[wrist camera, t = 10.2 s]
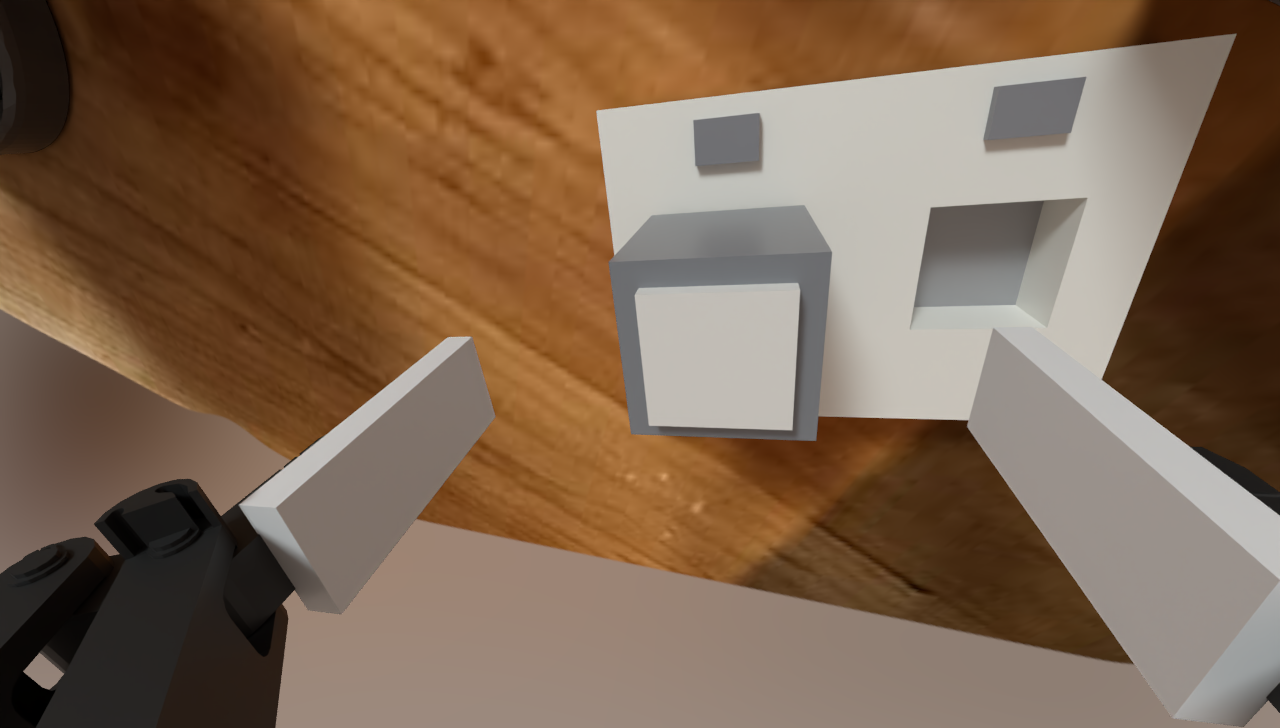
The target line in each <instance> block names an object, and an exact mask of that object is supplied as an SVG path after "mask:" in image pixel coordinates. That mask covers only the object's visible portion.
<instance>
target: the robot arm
mask: <svg viewBox="0 0 1280 728" xmlns="http://www.w3.org/2000/svg"><path fill="white" fill-rule="evenodd" d="M68 105H69V82H68V73H67V67H66V61H65V57H64V52H63V48H62V45H61V41H60V38H59V35H58V32H57V29H56V26H55V23H54V20H53V18H52V15H51V12H50V10H49V8H48V5H47V3H46V0H0V155H1V154H18V153H31V152H35V151H38V150H41V149H43V148H45V147H47V146H48V145H50V144H51V143H52V142H53V141H54V140H55V139H56V138H57V136H58V135H59V134H60V132H61V130H62V128H63V126H64V123H65V120H66V116H67V112H68ZM494 418H495V413H494V410H493V407H492V403H491V400H490V396H489V393H488V389H487V386H486V383H485V379H484V376H483V372H482V369H481V366H480V362H479V359H478V355H477V352H476V348H475V345H474V342H473V338H472V337H448V338H446V339H445V340H444V341H443V342H441V343H440V344H439V345H438V346H436V347H435V348H434V349H433V350H431V351H430V352H429V353H428V354H426V355H425V356H424V357H423V358H421V359H420V360H419V361H418V362H416V363H415V364H414V365H413V366H411V367H410V368H409V369H408V370H406V371H405V372H404V373H403V374H401V375H400V376H399V377H398V378H396V379H395V380H394V381H393V382H391V383H390V384H389V385H388V386H386V387H385V388H384V389H383V390H381V391H380V392H379V393H378V394H376V395H375V396H374V397H373V398H371V399H370V400H369V401H368V402H366V403H365V404H364V405H363V406H361V407H360V408H359V409H358V410H356V411H355V412H354V413H353V414H351V415H350V416H349V417H348V418H346V419H345V420H344V421H343V422H341V423H340V424H339V425H338V426H336V427H335V428H334V429H333V430H331V431H330V432H329V433H328V434H326V435H324V436H323V437H321V438H319V439H318V440H316V441H315V442H314V443H313V444H311V445H310V446H309V447H308V448H306V449H305V450H304V451H303V452H301V453H300V456H299V457H295V458H294V459H292V460H291V461H290V462H289V463H287V464H286V465H285V466H284V469H283V470H279V471H277V472H276V473H275V474H274V475H272V476H271V477H270V478H269V479H268V480H266V481H265V482H264V483H262V484H261V485H260V486H259V487H257V488H256V489H255V490H254V491H252V492H251V493H250V494H248V495H247V496H246V497H245V498H243V499H242V500H241V501H240V502H238V503H237V504H236V505H235V506H233V507H232V508H231V509H230V510H228V511H227V512H226V513H225V514H223V515H222V516H220V515H219V513H218V512H217V510H216V509H215V508H214V506H213V505H212V503H211V502H210V500H209V499H208V497H207V496H206V495H205V493H204V492H203V490H202V489H201V487H200V486H199V485H198V483H197V482H195V481H193V480H191V479H177V480H173V481H169V482H165V483H161V484H158V485H155V486H153V487H150V488H148V489H145V490H143V491H140V492H138V493H136V494H134V495H132V496H131V497H129V498H127V499H125V500H123V501H121V502H120V503H118V504H117V505H115V506H114V507H112V508H111V509H110V510H108V511H107V512H105V513H104V514H103V515H102V516H101V517H100V518H99V519H98V521H96V522H95V523H94V525H95V526H96V527H97V528H98V529H99V530H100V532H101V533H102V534H103V535H104V536H105V537H106V538H107V540H108V541H109V542H110V543H111V544H112V545H113V547H114V548H115V549H116V550H117V551H118V552H119V553H120V554H119V555H113V556H108V555H107V553H106V552H105V551H104V550H103V549H102V548H101V547H100V546H99V545H98V543H97V542H96V541H95V540H94V539H91V538H87V537H81V538H73V539H69V540H66V541H63V542H60V543H56V544H51V545H48V546H46V547H43V548H41V550H40V551H39V550H36V551H34V552H32V553H30V554H28V555H27V556H25V557H24V558H23V559H22V560H21V561H19V562H17V563H16V564H14V565H12V566H11V567H9V568H8V569H6V570H5V571H4V572H3V573H1V574H0V728H275V725H276V716H277V708H278V700H279V691H280V684H281V675H282V667H283V659H284V649H285V642H286V634H287V625H288V615H287V610H286V609H285V608H284V606H283V605H282V603H283V602H284V601H285V600H286V598H287V597H288V596H289V595H290V594H291V593H292V592H293V591H294V590H295V591H296V593H297V594H298V596H299V597H300V599H301V600H302V602H303V603H304V605H305V606H306V607H307V609H308V610H311V611H318V612H326V613H335V614H342V613H343V612H344V611H345V609H346V608H347V607H348V605H349V604H350V603H351V601H352V600H353V599H354V598H355V597H356V595H357V594H358V593H359V591H360V590H361V589H362V587H363V586H364V585H365V584H366V582H367V581H368V580H369V579H370V577H371V576H372V574H373V573H374V572H375V571H376V570H377V568H378V567H379V566H380V564H381V563H382V562H383V561H384V559H385V558H386V557H387V555H388V554H389V553H390V552H391V550H392V549H393V548H394V546H395V545H396V544H397V543H398V541H399V540H400V539H401V537H402V536H403V535H404V534H405V532H406V531H407V530H408V528H409V527H410V526H411V525H412V523H413V522H414V521H415V520H416V518H417V517H418V516H419V514H420V513H421V512H422V511H423V509H424V508H425V507H426V505H427V504H428V503H429V502H430V500H431V499H432V498H433V496H434V495H435V494H436V493H437V491H438V490H439V489H440V487H441V486H442V485H443V484H444V482H445V481H446V480H447V478H448V477H449V476H450V475H451V473H452V472H453V471H454V470H455V468H456V467H457V466H458V464H459V463H460V462H461V461H462V459H463V458H464V457H465V455H466V454H467V453H468V452H469V450H470V449H471V448H472V446H473V445H474V444H475V443H476V441H477V440H478V439H479V437H480V436H481V435H482V434H483V432H484V431H485V430H486V428H487V427H488V426H489V425H490V423H491V422H492V421H493V419H494ZM967 427H968V429H969V430H970V432H971V433H972V434H973V436H974V437H975V439H976V440H977V442H978V443H979V444H980V446H981V447H982V449H983V450H984V452H985V453H986V454H987V456H988V457H989V459H990V460H991V461H992V463H993V464H994V466H995V467H996V469H997V470H998V471H999V473H1000V474H1001V476H1002V477H1003V478H1004V480H1005V481H1006V483H1007V484H1008V486H1009V487H1010V488H1011V490H1012V491H1013V493H1014V494H1015V496H1016V497H1017V498H1018V500H1019V501H1020V503H1021V504H1022V505H1023V507H1024V508H1025V510H1026V511H1027V513H1028V514H1029V515H1030V517H1031V518H1032V520H1033V521H1034V522H1035V524H1036V525H1037V527H1038V528H1039V530H1040V531H1041V532H1042V534H1043V535H1044V537H1045V538H1046V540H1047V541H1048V542H1049V544H1050V545H1051V547H1052V548H1053V549H1054V551H1055V552H1056V554H1057V555H1058V557H1059V558H1060V559H1061V561H1062V562H1063V564H1064V565H1065V566H1066V568H1067V569H1068V571H1069V572H1070V574H1071V575H1072V576H1073V578H1074V579H1075V581H1076V582H1077V583H1078V585H1079V586H1080V588H1081V589H1082V591H1083V592H1084V593H1085V595H1086V596H1087V598H1088V599H1089V601H1090V602H1091V603H1092V605H1093V606H1094V608H1095V609H1096V610H1097V612H1098V613H1099V615H1100V616H1101V618H1102V619H1103V620H1104V622H1105V623H1106V625H1107V626H1108V627H1109V629H1110V630H1111V632H1112V633H1113V635H1114V636H1115V637H1116V639H1117V640H1118V642H1119V643H1120V645H1121V646H1122V647H1123V649H1124V650H1125V652H1126V653H1127V654H1128V656H1129V657H1130V659H1131V660H1132V662H1133V663H1134V664H1135V666H1136V667H1137V669H1138V670H1139V671H1140V673H1141V674H1142V676H1143V677H1144V679H1145V680H1146V681H1147V683H1148V684H1149V686H1150V687H1151V689H1152V690H1153V691H1154V693H1155V694H1156V696H1157V697H1158V698H1159V700H1160V701H1161V703H1162V704H1163V706H1164V707H1165V708H1166V710H1167V711H1168V712H1169V714H1170V715H1171V717H1172V718H1175V719H1183V720H1191V721H1200V722H1207V723H1216V724H1223V725H1231V726H1239V727H1244V726H1245V725H1246V724H1247V723H1248V722H1249V721H1250V719H1251V718H1252V717H1253V716H1254V715H1255V714H1256V713H1257V712H1258V711H1259V710H1260V708H1262V707H1263V705H1264V704H1265V703H1266V702H1267V701H1268V700H1269V701H1270V703H1272V705H1273V706H1274V707H1275V708H1276V709H1277V710H1278V712H1279V713H1280V492H1278V491H1277V490H1276V489H1274V488H1273V487H1271V486H1270V485H1269V484H1267V483H1266V482H1264V481H1263V480H1262V479H1260V478H1259V477H1257V476H1256V475H1255V474H1253V473H1252V472H1250V471H1249V470H1248V469H1246V468H1244V467H1242V466H1240V465H1238V464H1236V463H1234V462H1232V461H1230V460H1228V459H1226V458H1223V457H1221V456H1219V455H1217V454H1215V453H1213V452H1211V451H1209V450H1207V449H1205V448H1203V447H1189V446H1188V445H1186V444H1185V443H1184V442H1182V441H1181V440H1180V439H1179V438H1177V437H1176V436H1175V435H1173V434H1172V433H1171V432H1169V431H1168V430H1167V429H1165V428H1164V427H1163V426H1162V425H1160V424H1159V423H1158V422H1156V421H1155V420H1154V419H1152V418H1151V417H1150V416H1148V415H1147V414H1146V413H1144V412H1143V411H1142V410H1141V409H1139V408H1138V407H1137V406H1135V405H1134V404H1133V403H1131V402H1130V401H1129V400H1127V399H1126V398H1125V397H1123V396H1122V395H1121V394H1120V393H1118V392H1117V391H1116V390H1114V389H1113V388H1112V387H1110V386H1109V385H1108V384H1106V383H1105V382H1104V381H1102V380H1101V379H1100V378H1099V377H1097V376H1096V375H1095V374H1093V373H1092V372H1091V371H1089V370H1088V369H1087V368H1085V367H1084V366H1083V365H1081V364H1080V363H1079V362H1078V361H1076V360H1075V359H1074V358H1072V357H1071V356H1070V355H1068V354H1067V353H1066V352H1064V351H1063V350H1062V349H1060V348H1059V347H1058V346H1057V345H1055V344H1054V343H1053V342H1051V341H1050V340H1049V339H1047V338H1046V337H1045V336H1043V335H1042V334H1041V333H1039V332H1038V331H1037V330H1036V329H1034V328H1033V327H993V331H992V334H991V338H990V342H989V346H988V350H987V353H986V357H985V361H984V365H983V368H982V372H981V376H980V380H979V383H978V387H977V391H976V395H975V399H974V402H973V406H972V410H971V414H970V417H969V421H968V425H967ZM39 652H40V653H41V654H42V655H43V656H44V657H45V658H47V659H48V660H49V661H50V662H51V663H52V664H54V665H55V666H56V667H57V668H58V669H59V670H60V671H62V672H63V673H64V675H63V676H62V677H61V679H60V680H59V681H58V683H57V684H56V685H54V686H53V687H52V688H51V689H50V690H48V689H45V688H42V687H41V686H40V685H38V684H37V683H36V682H35V681H34V680H32V679H31V678H30V677H28V675H26V674H25V673H24V672H23V671H24V670H25V669H26V667H27V666H28V665H29V664H30V663H31V662H32V661H33V659H34V658H35V657H36V656H37V655H38V654H39Z"/></svg>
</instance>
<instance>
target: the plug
mask: <svg viewBox="0 0 1280 728" xmlns="http://www.w3.org/2000/svg"><path fill="white" fill-rule="evenodd" d="M831 260H832V251H831V249H830V247H829V246H828V244H827V242H826V241H825V239H824V237H823V236H822V234H821V232H820V231H819V229H818V227H817V226H816V224H815V222H814V220H813V219H812V217H811V215H810V214H809V212H808V210H807V209H806V207H805V205H797V206H782V207H767V208H752V209H737V210H723V211H708V212H693V213H678V214H663V215H651V217H650V218H649V219H648V220H647V221H646V222H645V223H644V224H643V225H642V226H641V227H640V229H639V230H638V231H637V232H636V233H635V234H634V235H633V236H632V237H631V238H630V239H629V241H628V242H627V243H626V244H625V245H624V246H623V247H622V248H621V249H620V250H619V251H618V253H617V254H616V255H615V256H614V257H613V258H612V259H611V260H610V261H609V268H610V276H611V283H612V291H613V299H614V306H615V314H616V322H617V329H618V337H619V344H620V352H621V360H622V367H623V375H624V382H625V390H626V398H627V405H628V413H629V421H630V428H631V434H641V435H668V436H695V437H722V438H749V439H776V440H803V441H816V437H817V425H818V414H819V402H820V390H821V378H822V366H823V355H824V343H825V331H826V319H827V307H828V296H829V284H830V272H831Z"/></svg>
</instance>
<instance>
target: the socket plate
mask: <svg viewBox="0 0 1280 728" xmlns="http://www.w3.org/2000/svg"><path fill="white" fill-rule="evenodd" d="M1235 37H1236V34H1229V35H1221V36H1212V37H1204V38H1196V39H1187V40H1179V41H1171V42H1163V43H1154V44H1146V45H1138V46H1129V47H1121V48H1113V49H1104V50H1096V51H1088V52H1080V53H1071V54H1063V55H1055V56H1046V57H1038V58H1030V59H1021V60H1013V61H1005V62H997V63H988V64H980V65H972V66H963V67H955V68H947V69H939V70H930V71H922V72H914V73H905V74H897V75H889V76H880V77H872V78H864V79H856V80H847V81H839V82H831V83H822V84H814V85H806V86H797V87H789V88H781V89H773V90H764V91H756V92H748V93H739V94H731V95H723V96H714V97H706V98H698V99H690V100H681V101H673V102H665V103H656V104H648V105H640V106H631V107H623V108H615V109H607V110H598V111H596V112H597V120H598V128H599V136H600V144H601V152H602V160H603V168H604V176H605V184H606V192H607V200H608V208H609V216H610V224H611V232H612V240H613V248H614V256H615V255H616V254H617V253H618V251H619V250H620V249H621V248H622V247H623V246H624V245H625V244H626V243H627V242H628V241H629V239H630V238H631V237H632V236H633V235H634V234H635V233H636V232H637V231H638V230H639V229H640V227H641V226H642V225H643V224H644V223H645V222H646V221H647V220H648V219H649V218H650V217H651V215H663V214H678V213H693V212H708V211H723V210H737V209H752V208H767V207H782V206H797V205H805V207H806V209H807V210H808V212H809V214H810V215H811V217H812V219H813V220H814V222H815V224H816V226H817V227H818V229H819V231H820V232H821V234H822V236H823V237H824V239H825V241H826V242H827V244H828V246H829V247H830V249H831V251H832V260H831V272H830V284H829V296H828V307H827V319H826V331H825V343H824V355H823V366H822V378H821V390H820V402H819V414H818V416H826V417H865V418H904V419H943V420H969V417H970V414H971V410H972V406H973V402H974V399H975V395H976V391H977V387H978V383H979V380H980V376H981V372H982V368H983V365H984V361H985V357H986V353H987V350H988V346H989V342H990V338H991V334H992V331H993V327H1033V328H1034V329H1036V330H1037V331H1038V332H1039V333H1041V334H1042V335H1043V336H1045V337H1046V338H1047V339H1049V340H1050V341H1051V342H1053V343H1054V344H1055V345H1057V346H1058V347H1059V348H1060V349H1062V350H1063V351H1064V352H1066V353H1067V354H1068V355H1070V356H1071V357H1072V358H1074V359H1075V360H1076V361H1078V362H1079V363H1080V364H1081V365H1083V366H1084V367H1085V368H1087V369H1088V370H1089V371H1091V372H1092V373H1093V374H1095V375H1096V376H1097V377H1099V378H1100V379H1102V377H1103V374H1104V372H1105V369H1106V367H1107V364H1108V362H1109V359H1110V356H1111V354H1112V351H1113V349H1114V346H1115V344H1116V341H1117V339H1118V336H1119V333H1120V331H1121V328H1122V326H1123V323H1124V321H1125V318H1126V316H1127V313H1128V310H1129V308H1130V305H1131V303H1132V300H1133V298H1134V295H1135V293H1136V290H1137V287H1138V285H1139V282H1140V280H1141V277H1142V275H1143V272H1144V270H1145V267H1146V264H1147V262H1148V259H1149V257H1150V254H1151V252H1152V249H1153V247H1154V244H1155V241H1156V239H1157V236H1158V234H1159V231H1160V229H1161V226H1162V224H1163V221H1164V218H1165V216H1166V213H1167V211H1168V208H1169V206H1170V203H1171V201H1172V198H1173V195H1174V193H1175V190H1176V188H1177V185H1178V183H1179V180H1180V178H1181V175H1182V172H1183V170H1184V167H1185V165H1186V162H1187V160H1188V157H1189V155H1190V152H1191V149H1192V147H1193V144H1194V142H1195V139H1196V137H1197V134H1198V132H1199V129H1200V126H1201V124H1202V121H1203V119H1204V116H1205V114H1206V111H1207V109H1208V106H1209V103H1210V101H1211V98H1212V96H1213V93H1214V91H1215V88H1216V86H1217V83H1218V80H1219V78H1220V75H1221V73H1222V70H1223V68H1224V65H1225V62H1226V60H1227V57H1228V55H1229V52H1230V50H1231V47H1232V45H1233V42H1234V39H1235Z"/></svg>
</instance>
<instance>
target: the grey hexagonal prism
mask: <svg viewBox="0 0 1280 728" xmlns="http://www.w3.org/2000/svg"><path fill="white" fill-rule="evenodd" d="M1269 1H1271V2H1273V3H1275V4H1277V5H1279V6H1280V0H1269Z"/></svg>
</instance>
